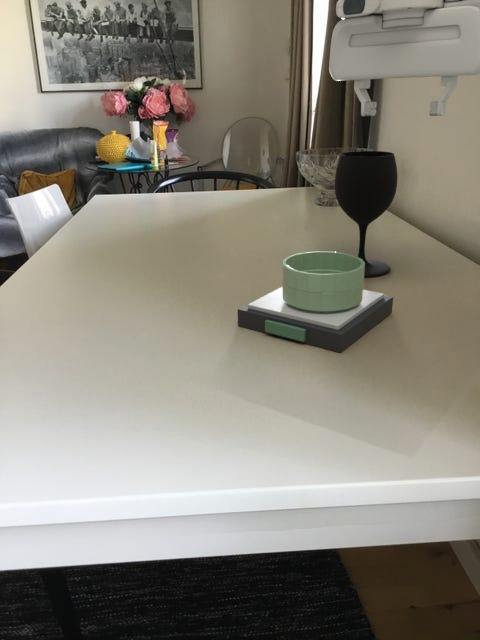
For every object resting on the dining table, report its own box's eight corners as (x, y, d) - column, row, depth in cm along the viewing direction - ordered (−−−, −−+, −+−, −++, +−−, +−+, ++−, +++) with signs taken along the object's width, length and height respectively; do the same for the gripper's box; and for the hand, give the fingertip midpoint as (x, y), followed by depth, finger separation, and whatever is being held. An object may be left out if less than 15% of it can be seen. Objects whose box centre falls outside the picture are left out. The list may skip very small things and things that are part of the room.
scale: (392, 312, 82) (393, 292, 81) (338, 355, 70) (339, 331, 69) (297, 293, 91) (297, 274, 90) (235, 327, 79) (234, 306, 78)
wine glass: (360, 281, 95) (367, 159, 87) (319, 267, 103) (322, 154, 96) (403, 270, 100) (412, 153, 93) (361, 257, 108) (367, 149, 101)
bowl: (375, 295, 80) (377, 258, 78) (339, 320, 72) (341, 279, 70) (307, 282, 86) (308, 247, 84) (267, 304, 78) (266, 266, 76)
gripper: (506, -12, 66) (490, 114, 71) (347, 7, 78) (343, 114, 83) (491, -18, 62) (475, 117, 67) (324, 3, 73) (322, 117, 78)
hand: (401, 115), depth 75 cm, fingers open, 8 cm apart
